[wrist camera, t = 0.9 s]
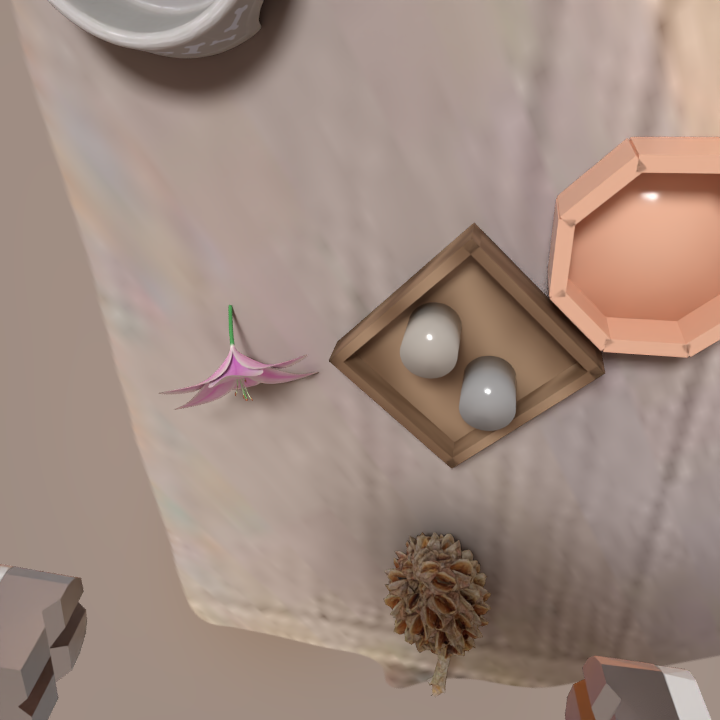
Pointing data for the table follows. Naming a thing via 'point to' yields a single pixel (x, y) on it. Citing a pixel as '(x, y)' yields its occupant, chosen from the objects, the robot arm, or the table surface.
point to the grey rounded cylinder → (488, 393)
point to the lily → (237, 375)
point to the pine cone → (437, 599)
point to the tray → (469, 346)
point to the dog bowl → (167, 24)
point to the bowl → (642, 248)
